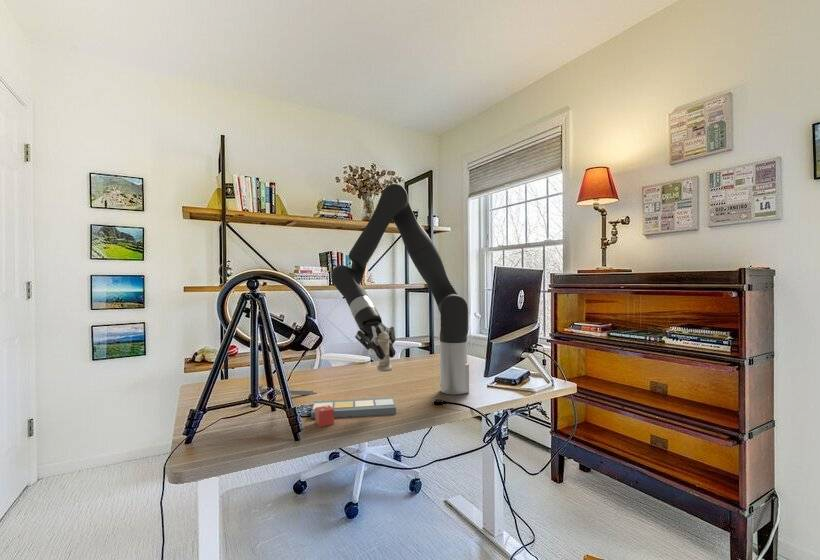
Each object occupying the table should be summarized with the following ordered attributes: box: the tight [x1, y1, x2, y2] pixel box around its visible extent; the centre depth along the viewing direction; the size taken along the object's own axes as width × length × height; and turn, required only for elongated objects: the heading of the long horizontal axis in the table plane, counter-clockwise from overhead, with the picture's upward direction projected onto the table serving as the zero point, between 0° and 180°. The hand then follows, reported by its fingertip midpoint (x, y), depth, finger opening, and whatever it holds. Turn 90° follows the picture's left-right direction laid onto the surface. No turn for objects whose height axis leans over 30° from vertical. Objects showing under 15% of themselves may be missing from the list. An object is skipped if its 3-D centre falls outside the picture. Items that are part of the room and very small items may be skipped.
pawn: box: [376, 331, 393, 373], centre depth 120 cm, size 4×4×11 cm
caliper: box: [258, 384, 317, 397], centre depth 132 cm, size 20×1×6 cm, turn 124°
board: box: [310, 396, 397, 419], centre depth 119 cm, size 24×10×2 cm, turn 98°
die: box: [314, 405, 335, 428], centre depth 109 cm, size 4×4×4 cm
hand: (388, 356), depth 119 cm, fingers closed on pawn, 3 cm apart
